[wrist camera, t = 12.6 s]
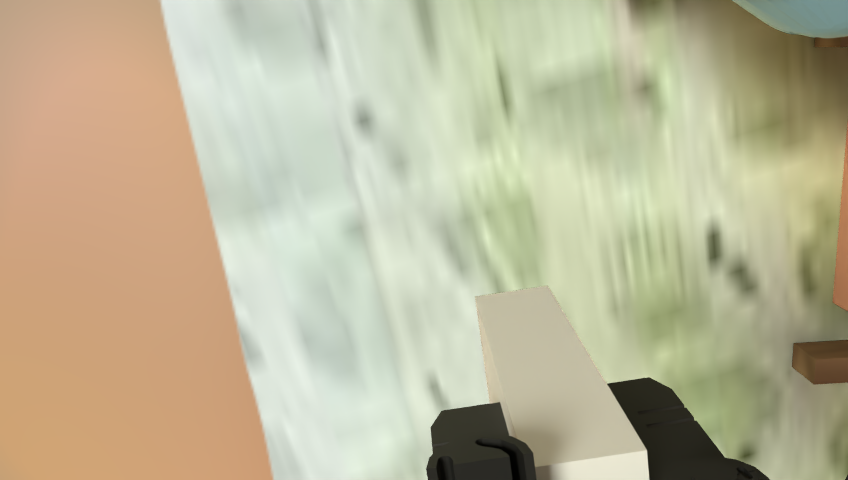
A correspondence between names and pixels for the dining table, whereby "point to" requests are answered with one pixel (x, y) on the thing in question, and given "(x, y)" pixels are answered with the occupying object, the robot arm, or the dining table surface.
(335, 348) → the dining table surface
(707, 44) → the dining table surface
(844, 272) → the t block
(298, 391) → the dining table surface
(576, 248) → the dining table surface
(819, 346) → the corral
